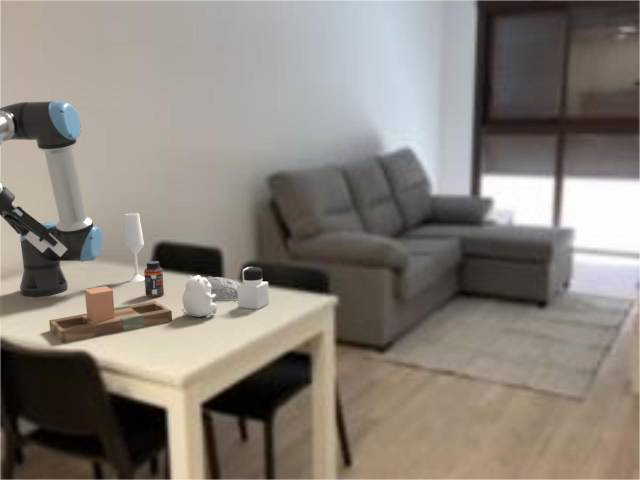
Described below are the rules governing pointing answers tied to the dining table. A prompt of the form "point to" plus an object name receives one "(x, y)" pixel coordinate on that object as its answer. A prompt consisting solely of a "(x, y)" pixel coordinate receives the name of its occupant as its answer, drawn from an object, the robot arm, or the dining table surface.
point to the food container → (223, 289)
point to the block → (99, 303)
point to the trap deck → (110, 321)
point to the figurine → (198, 297)
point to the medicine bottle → (253, 289)
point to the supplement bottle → (153, 279)
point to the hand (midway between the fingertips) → (54, 250)
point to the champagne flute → (134, 241)
